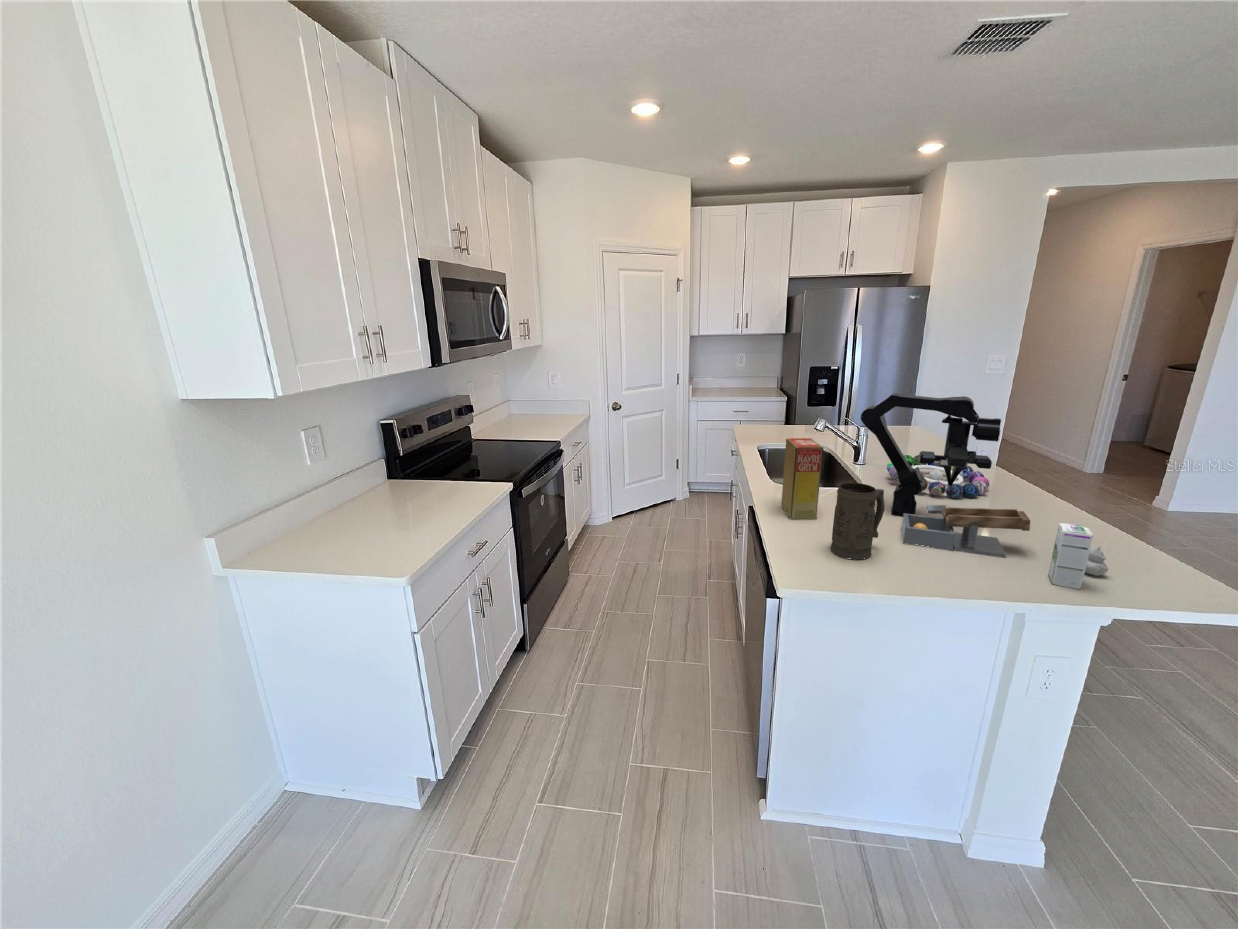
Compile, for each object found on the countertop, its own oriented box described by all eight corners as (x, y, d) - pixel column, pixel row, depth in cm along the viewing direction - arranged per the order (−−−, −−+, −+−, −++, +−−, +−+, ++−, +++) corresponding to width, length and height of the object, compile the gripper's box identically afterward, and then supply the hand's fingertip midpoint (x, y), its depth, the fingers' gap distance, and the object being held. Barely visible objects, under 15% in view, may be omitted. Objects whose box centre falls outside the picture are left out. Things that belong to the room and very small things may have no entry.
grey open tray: (903, 543, 149) (905, 527, 148) (901, 527, 160) (903, 513, 158) (952, 550, 144) (955, 534, 142) (947, 534, 154) (949, 518, 153)
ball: (923, 523, 149) (931, 535, 149) (922, 519, 152) (930, 530, 152) (910, 529, 151) (917, 540, 151) (909, 524, 154) (916, 535, 154)
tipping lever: (931, 526, 147) (931, 515, 146) (927, 508, 161) (927, 497, 160) (1029, 530, 136) (1030, 518, 136) (1015, 510, 150) (1016, 499, 149)
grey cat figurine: (1103, 581, 125) (1111, 552, 123) (1068, 571, 130) (1075, 543, 128) (1108, 574, 128) (1115, 545, 126) (1074, 565, 134) (1081, 537, 131)
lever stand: (953, 550, 144) (958, 524, 141) (948, 534, 154) (952, 509, 152) (1005, 557, 138) (1010, 531, 136) (996, 540, 149) (1001, 515, 147)
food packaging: (818, 519, 168) (824, 447, 161) (789, 519, 168) (794, 447, 162) (806, 505, 181) (811, 437, 174) (779, 505, 181) (784, 437, 174)
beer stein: (851, 564, 137) (863, 494, 132) (820, 549, 147) (829, 483, 142) (888, 554, 144) (900, 488, 139) (855, 541, 154) (865, 478, 149)
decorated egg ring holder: (987, 519, 176) (995, 496, 173) (879, 495, 192) (884, 473, 189) (981, 484, 204) (988, 464, 201) (887, 466, 220) (891, 447, 217)
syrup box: (1081, 590, 122) (1095, 534, 118) (1050, 584, 125) (1062, 530, 121) (1076, 579, 126) (1090, 526, 122) (1046, 574, 129) (1058, 521, 125)
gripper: (924, 441, 154) (917, 489, 158) (999, 446, 146) (990, 497, 150) (921, 433, 163) (915, 479, 168) (991, 437, 155) (983, 486, 160)
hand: (949, 485), depth 161 cm, fingers closed
